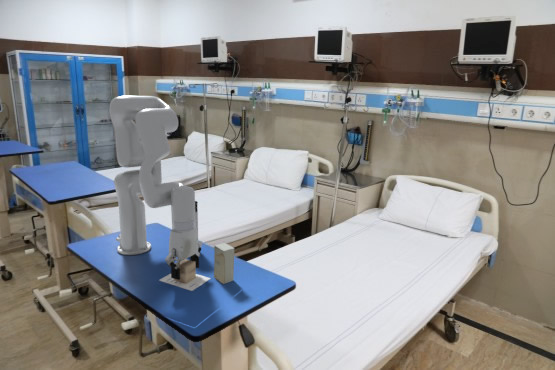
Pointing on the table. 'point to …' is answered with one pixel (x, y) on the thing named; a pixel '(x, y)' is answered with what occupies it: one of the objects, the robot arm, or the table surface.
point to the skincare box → (224, 263)
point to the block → (187, 271)
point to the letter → (189, 286)
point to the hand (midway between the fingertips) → (185, 272)
